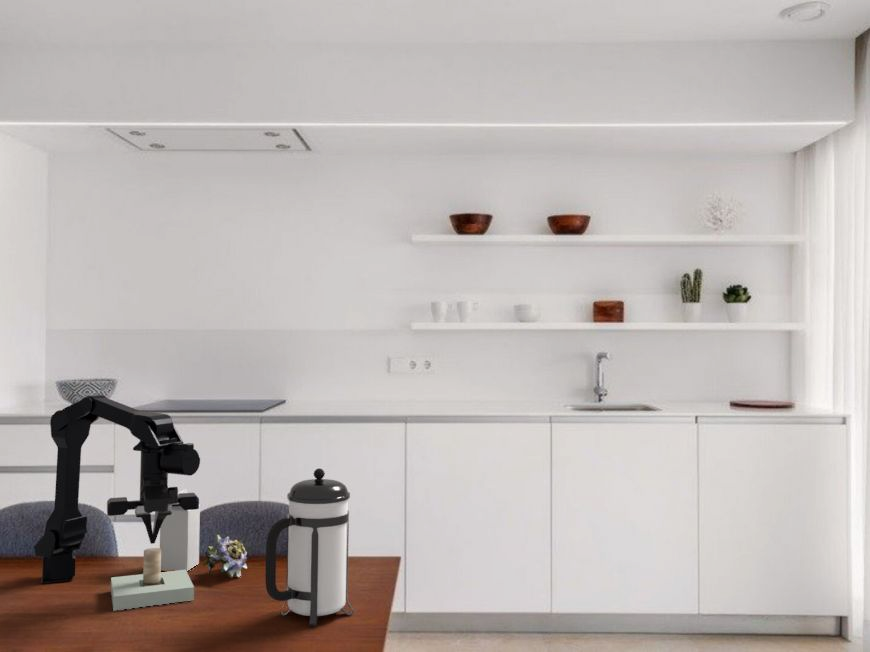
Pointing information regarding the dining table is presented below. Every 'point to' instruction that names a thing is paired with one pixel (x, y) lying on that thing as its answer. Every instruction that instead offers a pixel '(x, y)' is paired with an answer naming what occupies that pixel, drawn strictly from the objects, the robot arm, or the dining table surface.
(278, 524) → the coffee press
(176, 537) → the milk carton
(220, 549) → the passion flower
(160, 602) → the board
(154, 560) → the peg
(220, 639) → the dining table surface
